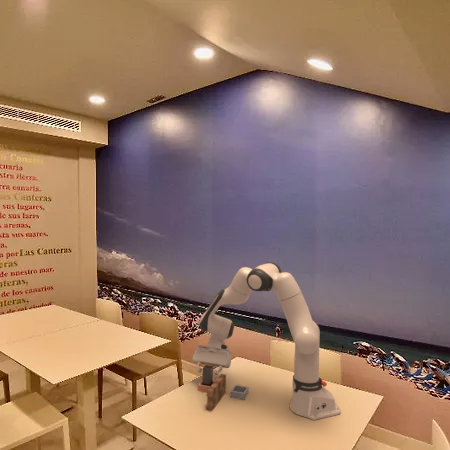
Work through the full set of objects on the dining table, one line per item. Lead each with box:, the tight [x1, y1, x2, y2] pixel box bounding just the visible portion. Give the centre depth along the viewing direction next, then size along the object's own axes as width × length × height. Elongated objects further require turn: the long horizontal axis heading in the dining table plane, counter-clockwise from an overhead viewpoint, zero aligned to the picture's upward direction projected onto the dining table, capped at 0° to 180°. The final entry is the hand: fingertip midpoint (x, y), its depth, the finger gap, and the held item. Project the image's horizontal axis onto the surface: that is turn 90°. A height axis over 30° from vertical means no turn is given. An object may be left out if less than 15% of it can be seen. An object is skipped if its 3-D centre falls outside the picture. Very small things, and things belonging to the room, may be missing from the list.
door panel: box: [206, 373, 227, 412], centre depth 165 cm, size 18×4×9 cm, turn 160°
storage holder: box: [229, 384, 250, 401], centre depth 171 cm, size 7×7×3 cm
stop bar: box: [201, 364, 214, 386], centre depth 176 cm, size 4×4×11 cm
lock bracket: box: [197, 380, 216, 394], centre depth 177 cm, size 7×7×3 cm
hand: (207, 373), depth 177 cm, fingers open, 8 cm apart
